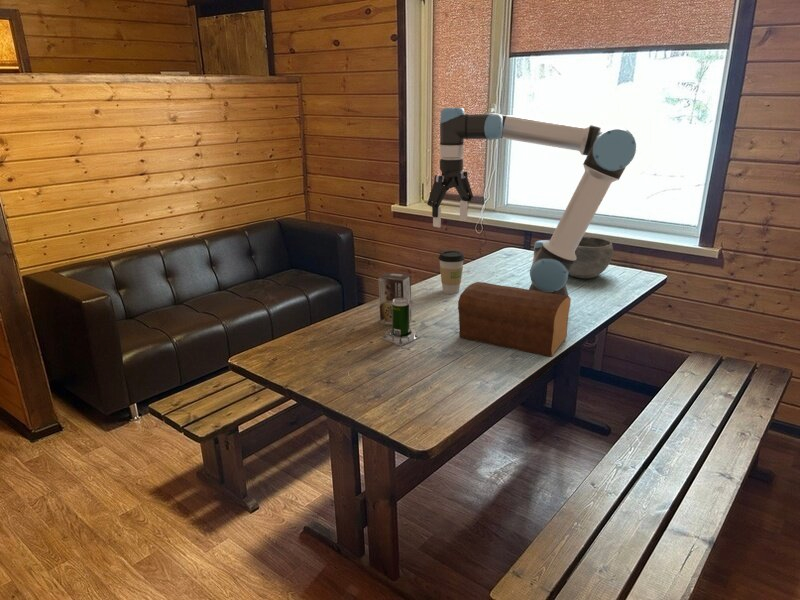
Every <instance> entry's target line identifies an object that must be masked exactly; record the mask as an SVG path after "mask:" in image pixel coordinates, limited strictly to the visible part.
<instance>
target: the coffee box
mask: <svg viewBox="0 0 800 600" xmlns="http://www.w3.org/2000/svg"><path fill="white" fill-rule="evenodd" d="M411 276H412V275H411V274H404V273H396V272H395V273H394V272H385V273H383V274H382V275H381V276H379V277H378V290H379V291H378V295H379V298H378V299H379V317H380V318H379V323H380V324H383V325H391V326H392V302H393V301H392V300H393V299H394V298H398V297H403V298H407V299H408V300H409V322H410V323H411V322H412V287H411V286H412V285H411V284H412V281H411Z"/></svg>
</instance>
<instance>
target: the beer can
mask: <svg viewBox="0 0 800 600" xmlns="http://www.w3.org/2000/svg"><path fill="white" fill-rule="evenodd" d="M392 301H393V302H392V325H391V328H392V334H393V336H397V337H403V336H408V335H409V334H410V328H411V326H410V323H411V322H409V300H408V299H407V298H403V297H398V298H394V299H393V300H392Z"/></svg>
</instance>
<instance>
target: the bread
mask: <svg viewBox="0 0 800 600" xmlns="http://www.w3.org/2000/svg"><path fill="white" fill-rule="evenodd" d="M457 309H458V324H459V326H458V327H459V331H458V334H459V335H458V337H459V338H461V339H464V340H470V341H474V342H480V343H483V344H488V345H493V346H496V347H504V348H508V349H511V350H516V351H521V352H527V353H530V354H531V353H532V354H535V353H536V355H540V354H541V356H548V357H552V356H553V355H555V352H556V351H557V350H558V349H559V347H560V346H561V345H562V344H563V343H564V341H565V339H566V338H567V334H568V322H569V312H570V309H571V297H570V296H569V295H568V296H565V295H559V294H552V293H546V292H541V291H536V290H529V289H527V288H522V287H521V288H520V287H516V286H515V287H514V286H507V285H501V284H494V283H488V282H483V281H475V282H472V283H471V284H469V285H468V286H467V287H466V288H464V290H463V291H462V292H461V293H460V295H459V298H458V302H457Z"/></svg>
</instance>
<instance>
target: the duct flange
mask: <svg viewBox="0 0 800 600" xmlns="http://www.w3.org/2000/svg"><path fill="white" fill-rule="evenodd" d="M380 338H381V339H383V340H386V341H387V342H390V343H393V344H395V345H396V346H400V347H402V346H405V345H407V344H409V343H411V342H414V341H416V340H418V339H420V338H422V335H420V334H417V332H416V330H415V329H414V328H412V327H410V334H409V335H408V336H403V337H397V336H393V334H392V327H391V328H389V329H387V330H386V331H385V334H383V335H380Z"/></svg>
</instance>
